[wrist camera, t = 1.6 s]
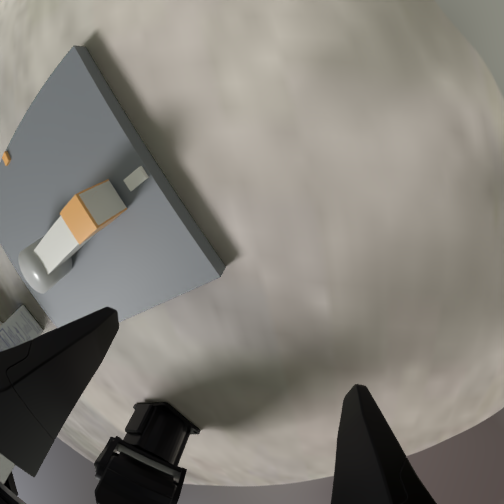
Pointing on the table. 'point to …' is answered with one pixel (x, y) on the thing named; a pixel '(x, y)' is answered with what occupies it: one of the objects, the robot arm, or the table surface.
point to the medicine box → (18, 329)
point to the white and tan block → (69, 235)
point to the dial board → (85, 176)
